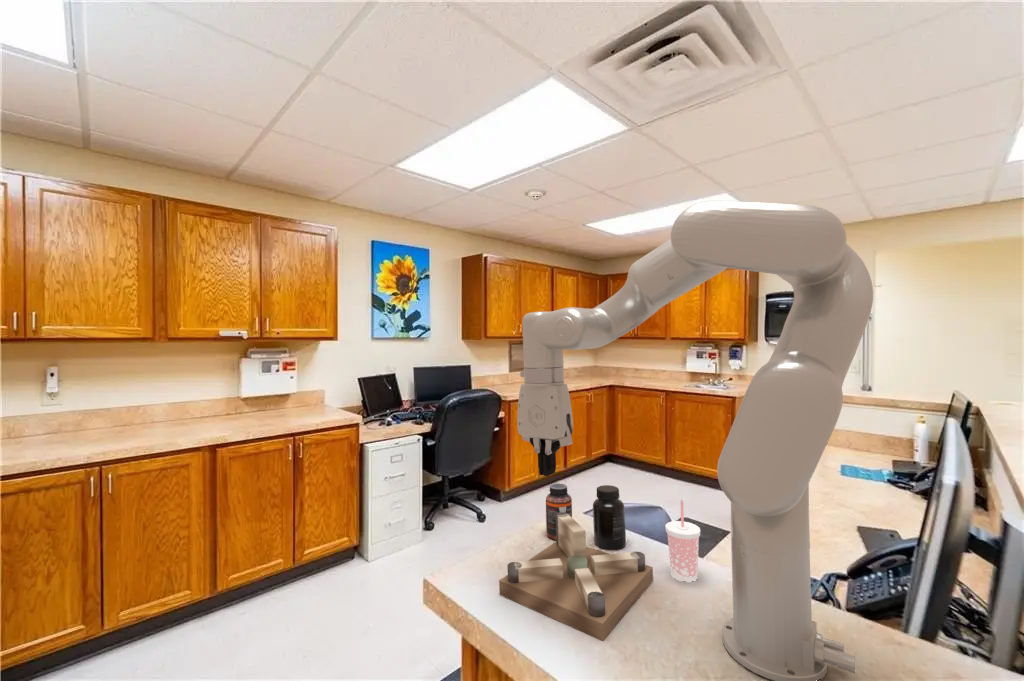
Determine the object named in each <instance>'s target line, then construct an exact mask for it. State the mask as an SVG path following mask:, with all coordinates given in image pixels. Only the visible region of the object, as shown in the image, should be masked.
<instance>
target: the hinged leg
mask: <svg viewBox="0 0 1024 681" xmlns="http://www.w3.org/2000/svg"><path fill="white" fill-rule="evenodd" d="M556 534H557V540H556V541H557V545H558V546H559V547H560V548H561V549H562V550H563V552H564V553H565V554H566V555H567V556H568V557H570V556H574V555H579V556H583V557H585V558H586V547H587V542H586V541H587V540H586V537H587V535H586V529H585V528H583V527H582V525H580V524H579V523H578V522H577V521H576V520H575V519H574V518H573V516H572V517H571V516H569V514H568V513H565V512H559V513H557V514H556Z"/></svg>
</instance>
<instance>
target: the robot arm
mask: <svg viewBox="0 0 1024 681" xmlns="http://www.w3.org/2000/svg"><path fill="white" fill-rule="evenodd" d="M727 269H733V270H740V271H746V272H747V271H749V272H755V273H756V272H757V273H764V274H771V275H776V276H778V277H780V278H781V279H782V280H783V281H785V282H787V283H788V284H789V285H791V287H792V289H793V302H792V305H791V308H790V310H789V312H788V315H787V316H786V320H785V322H784V325H783V328H782V331H781V334H780V335H779V338H778V340H777V343H776V346H775V348H774V350H773V352H772V354H771V356H770V358H769V360H768V362H766V363H764V364H763V365H762V366H761V367H760V368H759V369H758V370H757V371H756V372H755V374H754V375H753V377H752V379H751V380H750V383H749V385H748V387H747V388H746V391H745V393H744V396H743V399H742V400H741V404H740V405H739V408H738V411H737V412H736V416H735V417H734V420H733V423H732V425H731V428H730V430H729V433H728V435H727V437H726V439H725V442H724V445H723V448H722V449H721V452H720V455H719V458H718V460H717V469H716V472H717V480H718V483H719V486H720V488H721V490H722V491H723V493H724V495H725V496H726V498H727V499H728V500H729V501H730V544H731V547H730V550H731V576H732V577H731V579H732V611H733V614H732V615H733V618H731V619H729V620H727V621H726V622H725V624H724V625H723V627H722V629H721V634H722V635H721V636H722V637H721V638H722V644H723V645H724V647H725V649H726V651H727V652H728V653H729V655H730V656H731V657H733V659H734V660H735V661H737V662H738V663H739V664H740V665H741V666H743V667H744V668H746V669H747V670H749V671H751V672H752V673H754V674H756V675H758V676H760V677H762V678H765V679H768V680H772V681H816V680H819V679H821V678H822V677H823V678H824V677H825V676H826V675H827V672H828V665H831V666H833V667H837V668H838V669H841V670H844V671H847V672H849V673H852V674H856V655H852V654H850V653H847V652H845V644H844V643H842V642H840V641H837V640H833V639H829V638H826V637H823V635H822V634H820V633H818V628H817V626H818V625H817V622H816V621H813V618H812V617H813V616H812V615H813V614H812V585H811V584H812V583H811V582H812V581H811V580H812V579H811V554H810V552H811V551H810V550H811V542H810V541H811V540H810V538H811V537H810V503H809V502H810V500H809V499H810V494H809V493H810V492H809V491H810V490H809V489H810V484H809V483H810V481H811V479H812V478H813V475H814V473H815V470H816V468H817V467H818V464H819V462H820V460H821V458H822V456H823V453H824V451H825V450H826V447H827V445H828V443H829V441H830V438H831V436H832V434H833V432H834V430H835V428H836V425H837V423H838V420H839V418H840V414H841V410H842V408H843V403H844V395H843V394H844V393H843V385H844V382H845V378H846V377H847V375H848V372H849V369H850V367H851V364H852V362H853V360H854V358H855V356H856V353H857V351H858V348H859V345H860V343H861V340H862V337H863V335H864V332H865V330H866V327H867V325H868V323H869V322H868V321H869V320H870V316H871V313H872V307H873V304H874V303H873V302H874V289H873V288H874V287H873V283H872V279H871V275H870V273H869V270H868V268H867V266H866V264H865V263H864V261H863V259H862V258H861V257H860V255H859V254H858V253H857V252H856V251H855V250H854V249H853V248H852V247H851V246H850V245H849V244H848V243H847V232H846V228H845V226H844V224H843V222H842V220H841V219H840V218H839V217H837V216H836V214H834V213H833V212H831V211H829V210H828V209H826V208H823V207H820V206H817V205H812V204H811V205H810V204H802V203H787V202H786V203H785V202H784V203H783V202H762V201H761V202H758V201H757V202H756V201H740V200H739V201H737V200H707V201H706V200H704V201H701V202H698V203H695V204H692V205H690V206H689V207H687V208H686V209H685V210H683V211H682V212H680V213H679V215H678V216H677V217H676V219H675V221H674V222H673V224H672V227H671V231H670V238H669V239H668V240H666V241H665V242H664V243H662V244H660V245H659V246H658V247H656V248H654V249H653V250H651V251H650V252H648V253H646V254H644V256H642V257H641V258H639V259H638V260H635V261H634V262H633V263H632V264H631V265H630V267H629V269H628V273H627V278H626V281H625V283H624V285H623V286H622V287H621V288H620V289H619V290H618V291H617V292H615V293H614V294H613V295H612V296H610V297H609V298H608V299H606V300H604V301H603V302H601V303H600V304H598V305H596V306H595V307H593V308H588V307H587V308H586V307H585V308H584V307H575V306H574V307H573V306H570V307H564V308H560V309H557V310H553V311H533V312H528V313H526V314H524V316H522V317H523V318H522V350H523V351H522V352H523V370H521V371H520V373H519V375H520V377H521V378H523V379H524V380H523V381H524V383H523V384H521V385H520V387H519V394H518V401H517V419H516V420H517V425H516V426H517V433H518V434H519V435H521V439H522V440H523V441H525V442H528V443H530V444H531V445H532V447H533V449H534V452H535V453H536V454H537V464H538V465H537V468H538V474H539V476H545V477H548V476H551V475H553V474H555V473H556V469H557V458H556V453H558V452H559V450H560V448H562V447H567V446H570V445H572V444H573V438H572V434H573V432H574V420H573V408H572V400H571V396H570V393H569V391H570V390H569V387H568V385H567V383H565V372H564V371H565V369H564V368H565V367H564V366H565V365H564V350H568V351H577V350H580V351H581V350H588V349H592V350H593V349H599V348H601V347H604V346H606V345H609V344H610V343H612V342H614V341H615V340H617V339H619V338H620V337H622V336H624V335H626V334H628V333H629V332H631V331H632V330H634V329H636V328H637V327H638V326H640V325H641V324H643V323H644V322H645V321H646V320H648V319H650V318H651V317H652V316H653V315H654V314H656V313H657V312H658V311H659V310H660V309H661V308H663V307H664V306H666V305H667V304H669V303H671V302H673V301H674V300H676V299H678V298H679V297H682V296H683V295H684V294H687V293H688V292H689V291H691V290H693V289H695V288H696V287H698V286H700V285H701V284H703V283H705V282H707V281H709V280H710V279H712V278H714V277H715V276H717V275H720V273H723V272H724V271H725V270H727ZM825 674H826V675H825ZM823 678H822V679H823ZM822 679H821V680H822ZM819 681H820V680H819Z"/></svg>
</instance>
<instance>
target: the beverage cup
mask: <svg viewBox="0 0 1024 681" xmlns="http://www.w3.org/2000/svg"><path fill="white" fill-rule="evenodd" d="M684 513H685V512H684V500H682V499H680V520H672V521H669V522H667V523H666V524H665V525H664V526H665V533H667V543H668V553H669V554H668V555H669V556H668V557H669V567H670V574H671V577H672V578H675V579H674V580H675V581H676V580H677V581H678V580H679V582H682V581H686V582H685V583H691V582H690V581H694V580H696V579H698V574H699V573H698V570H699V567H698V566H699V542H700V536H701V527H699V526H698V525H697V524H694V523H692V522H688V521H685V517H684ZM696 581H697V580H696ZM694 582H695V581H694Z"/></svg>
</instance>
